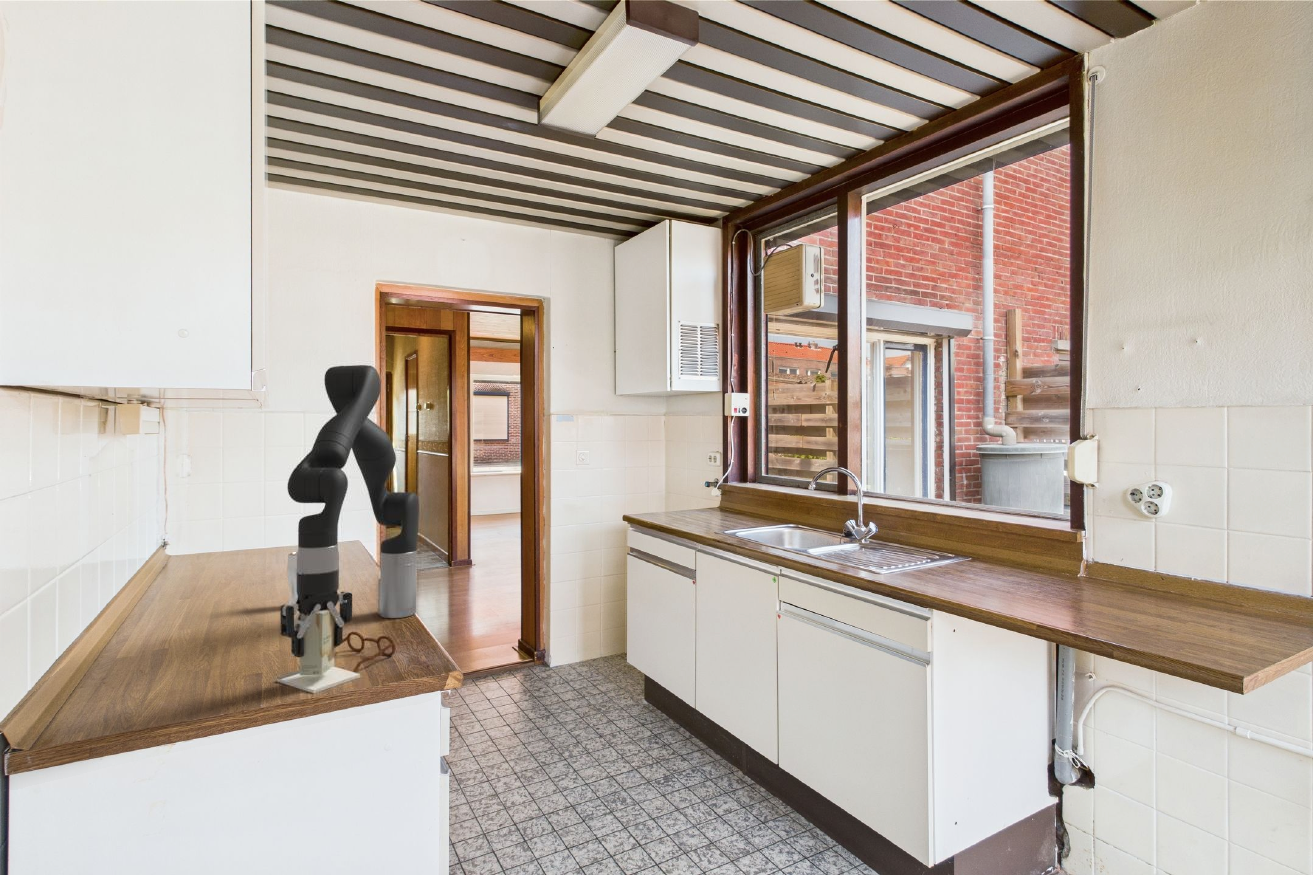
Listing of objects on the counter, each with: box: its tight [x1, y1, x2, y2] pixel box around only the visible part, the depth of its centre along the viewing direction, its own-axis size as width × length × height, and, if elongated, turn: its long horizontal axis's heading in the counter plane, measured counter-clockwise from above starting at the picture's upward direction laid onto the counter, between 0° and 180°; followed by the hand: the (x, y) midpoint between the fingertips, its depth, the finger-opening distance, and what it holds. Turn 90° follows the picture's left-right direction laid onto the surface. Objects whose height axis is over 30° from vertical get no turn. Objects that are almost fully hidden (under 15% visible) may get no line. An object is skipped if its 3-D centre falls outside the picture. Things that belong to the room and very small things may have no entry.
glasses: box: [334, 631, 396, 673], centre depth 146 cm, size 13×13×5 cm
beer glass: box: [286, 551, 298, 605], centre depth 192 cm, size 7×7×15 cm
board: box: [276, 666, 361, 694], centre depth 136 cm, size 12×10×1 cm
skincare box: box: [299, 609, 335, 675], centre depth 134 cm, size 6×4×12 cm
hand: (317, 650), depth 134 cm, fingers closed on skincare box, 7 cm apart
